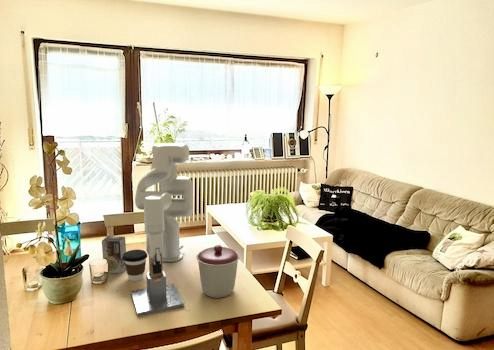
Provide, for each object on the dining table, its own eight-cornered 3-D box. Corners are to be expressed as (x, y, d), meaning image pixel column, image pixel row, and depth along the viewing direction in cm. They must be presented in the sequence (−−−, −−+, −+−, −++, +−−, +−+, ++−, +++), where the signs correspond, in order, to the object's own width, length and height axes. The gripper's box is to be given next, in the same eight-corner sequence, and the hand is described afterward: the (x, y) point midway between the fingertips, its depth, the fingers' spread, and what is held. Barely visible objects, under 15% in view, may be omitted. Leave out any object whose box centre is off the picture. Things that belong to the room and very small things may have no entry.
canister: (236, 280, 174) (236, 237, 170) (241, 301, 157) (242, 253, 153) (196, 283, 172) (195, 238, 168) (197, 304, 154) (196, 255, 150)
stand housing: (131, 294, 161) (129, 269, 159) (173, 286, 168) (173, 262, 166) (137, 316, 145) (136, 288, 143) (184, 306, 152) (183, 280, 150)
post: (149, 294, 157) (148, 248, 153) (161, 292, 159) (160, 246, 155) (151, 300, 153) (150, 253, 149) (163, 297, 155) (162, 251, 151)
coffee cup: (141, 285, 169) (140, 259, 167) (118, 282, 171) (117, 257, 169) (152, 274, 180) (151, 250, 177) (130, 271, 182) (129, 248, 179)
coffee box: (127, 268, 186) (125, 236, 183) (121, 274, 180) (120, 241, 176) (109, 267, 187) (107, 235, 184) (103, 272, 180) (101, 240, 177)
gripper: (141, 222, 156) (142, 263, 160) (148, 235, 141) (150, 281, 145) (159, 219, 159) (160, 261, 163) (168, 232, 144) (170, 277, 148)
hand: (155, 270), depth 154 cm, fingers closed on post, 4 cm apart
